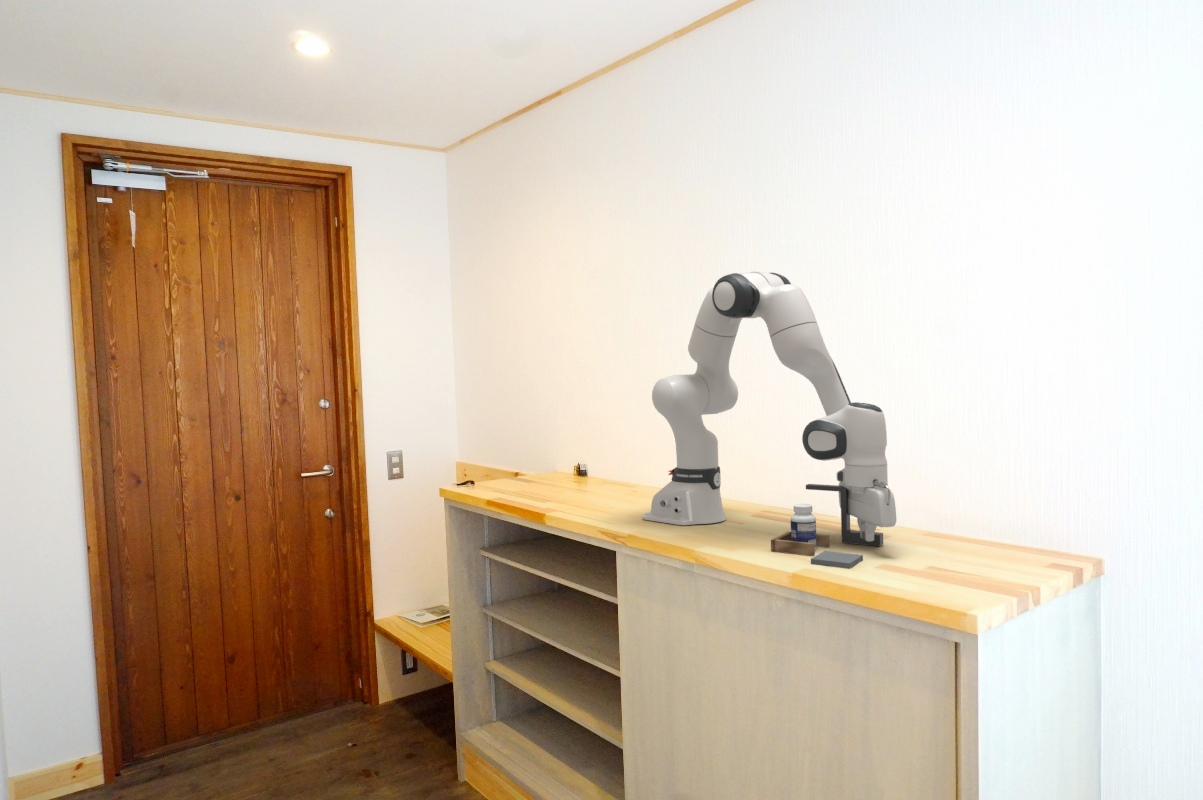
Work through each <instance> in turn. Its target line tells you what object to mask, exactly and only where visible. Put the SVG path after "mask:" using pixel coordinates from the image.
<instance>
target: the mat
mask: <svg viewBox="0 0 1203 800" xmlns="http://www.w3.org/2000/svg"><path fill="white" fill-rule="evenodd" d="M863 560H864V555H863V554H857V553H856V554H855V553H849V552H847V553H846V552H839V551H831V550H830V551H829V550H824V551H822V552H820V553H818V554H816V555H814V556H812V557H811V558H810V564H811V565H821V566H826V567H836V568H845V569H852V568H853V567H855V566H856V565H857V564H859V563H860V562H862V561H863Z"/></svg>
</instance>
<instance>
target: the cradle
mask: <svg viewBox="0 0 1203 800" xmlns="http://www.w3.org/2000/svg"><path fill="white" fill-rule="evenodd" d="M830 542H831V541H830V534H829V535H828V534H827V535H826V534H819V533H816V547H819V548H830V547H831V544H830ZM815 551H816V550H815V543H807V542H797V541H791V531H787V532H784V533H783V534H781V535H778V536H776V537H774V538H772V539H770V552H773V553H784V554H785V553H786V554H793V555H800V556H809V557H815V556H816V552H815Z"/></svg>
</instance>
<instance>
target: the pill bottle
mask: <svg viewBox="0 0 1203 800" xmlns="http://www.w3.org/2000/svg"><path fill="white" fill-rule="evenodd" d="M813 511H814V510H813V505H812V504H808V503H797V504H796V503H795V504H794V505H793V512H794V513H793V514H792V515H791V516H790V532H791V541H797V542H807V543H815V551H816V550H817V546H816V534H817V522H816V521H817V518H816V516H815V515H814V514H813V513H812V512H813Z"/></svg>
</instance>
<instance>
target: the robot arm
mask: <svg viewBox="0 0 1203 800" xmlns="http://www.w3.org/2000/svg"><path fill="white" fill-rule="evenodd" d="M699 307H700V308H699V310H698V313H697V316H696V319H695V322H694V326H693V329H692V332H691V335H690V338H689V339H690V340H689V343H688V347H687V351H688V354H689V356H690V358H691V359H692V360H693V361H694V362H695V363H696V364H697V365H696V366H697V367H696V370H695V372H694V373H693V374H691V373H690V374H674V375H671V376H667V377H663V378H659V379H658V380H657V381H656V383H655V384H654V385H653V388H652V393H651V401H652V405H653V407H654V408H655V410H656V411H657V412H658V413H659V414H660V415H662V416H663V418H664V419H665V420H666V421H667V422H668V424H669V426H670V428H671V431H672V433H673V436H674V441H675V450H676V451H675V452H676V453H675V454H676V467H674V468H672V469H671V470H668V476H671V481H670V482H668V483H666V485H664V486H663V488H660V490H659V491H657V492H656V493H655V494H654V495H653V496H652V500H651V506H650V511H647V512H645V513H644V514H643V515H642V520H645V521H652V522H658V523H665V524H672V525H676V526H678V525H679V526H691V525H704V524H705V525H706V524H707V525H708V524H717V523H720V522H724V521H726V520H727V518H726V517H727V516H726V514H725V510H724V506H723V501H722V496H721V495H722V494H721V483H722V481H721V478H722V477H721V466H719V442H718V441H719V440H718V438H717V436H716V435H715V434H714V432H712V431H710V430H709V429H707V427H706V426H705V424H704V421H703V417H702V416H705V415H717V414H721V413H724V412H727V411H729V410H732V409H733V408H734V407H735V405H736V404H737V401H738V398H739V391H738V386H737V383H736V382H735V380H734V379H733V378H732V376H731V373H730V358H731V355H732V351H733V347H734V344H735V341H736V338H737V334H738V331H739V328H740V324H741V322H742V320H743V319H757V318H761V319H762V320H763V321H764V323H765V324H766V328H767V331H768V334H769V338H770V341H771V345H772V347H773V350H774V352H775V355H776V357H777V358H778V361H780V363H781V364H782V365H783V366H784V367H786V368H788V369H790V370H792V371H794V372H795V373H798V374H800V375H801V376H802V377H804V378H806V379H807V380H808V381H809V382H810V383H811V384H812V386H813V387H814V389H815V390H816V393H817V395H818V399H819V400H820V403H821V405H822V409H823V410H824V413H825V415H826V416H823V417H819V418H818V419H817V418H816V419H814V420H812V421H811V422H808V424H807V425H805V427H804V428H803V431H802V437H801V439H802V440H801V441H802V445H803V449H804V450H805V452H806V453H807V455H808V456H810V457H811V458H813V459H815V460H818V461H825V462H826V461H832V460H833V461H834V460H839V459H843V461H844V467H843V468H842V469H841V470H838V471H837V472H836V481H837V482H839V483H838V486H843V487H845V488H847V490H848V514H849V515H850V517H851V516H852V517H854V518H857V519H856V521H857V522H856V523H857V526H858V528H859V531H860V535H861V539H864V540H866V541H874V533H875V532H876V529H877V527H878V528H891V527H895V526H896V524H897V509H896V501H895V500H896V499H895V495H894V492H893V491H892V489H891V488H889V486H888V483H889V481H888V460H887V458H886V448H887V445H888V442H887V441H888V439H887V438H888V437H887V425H886V418H885V414H884V411H883V410H882V408H880V407H879V406H877V405H875V404H871V403H866V402H857V401H856V402H851V399H850V397H849V394H848V392H847V389H846V387H845V385H844V383H843V380H842V377H841V375H840V373H839V371H838V368H837V367H836V364H835V362H834V361H833V358H832V356H831V355H830V352H829V350H828V348H827V347H826V344H825V342H824V338H823V336H822V334H821V330H820V328H819V325H818V322H817V319H816V316H815V313H814V311H813V309H812V306H811V305H810V302H809V300H808V298H807V296H806V295H805V293H804V291H803V290H802V288H800V286H798V285H796V284H795V285H794V284H792V283H791V281H790V280H789V279H788V278H787V277H786V276H784V275H782V274H779V273H776V272H764V271H750V272H741V273H737V272H734V273H729V274H726V275H723V276H721V277H720V278H719V279H717V281H716V282H715V284H714V286H713V287H711V288H710V289H709V290H708V291H707V293H706V294H705V297H704V299H703V301H702V302H701V306H699ZM838 502H839V508H840V509H841V492H840V491H838Z"/></svg>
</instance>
